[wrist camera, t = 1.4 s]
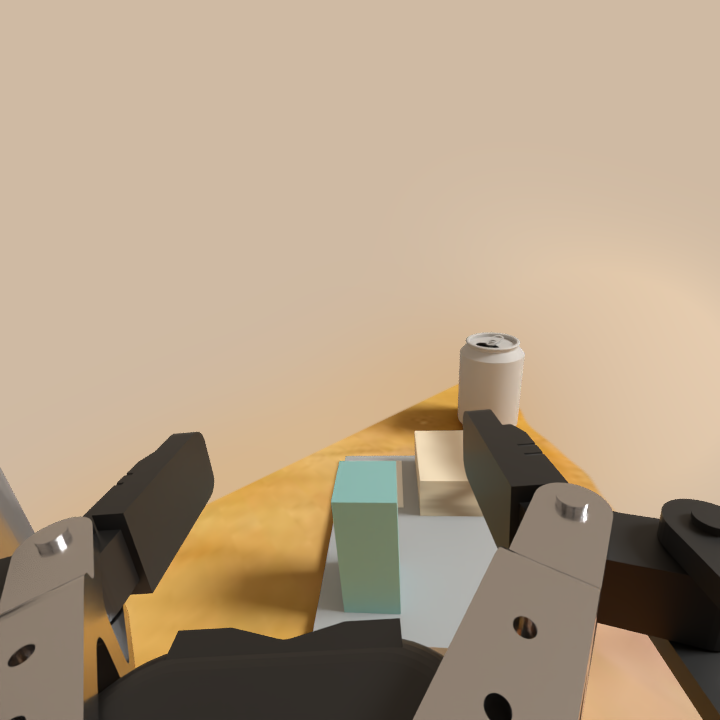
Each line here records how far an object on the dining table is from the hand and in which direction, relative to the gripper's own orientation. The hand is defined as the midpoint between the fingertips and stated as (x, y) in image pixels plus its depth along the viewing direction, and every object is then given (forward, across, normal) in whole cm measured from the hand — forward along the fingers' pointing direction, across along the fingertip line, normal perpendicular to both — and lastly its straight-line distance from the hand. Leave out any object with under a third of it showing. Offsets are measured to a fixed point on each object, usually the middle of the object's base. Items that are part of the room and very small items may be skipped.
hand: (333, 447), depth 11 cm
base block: (+22, -9, +19) cm, 30 cm away
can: (+34, -16, +19) cm, 42 cm away
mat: (+17, -4, +20) cm, 26 cm away
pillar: (+11, 0, +19) cm, 22 cm away
